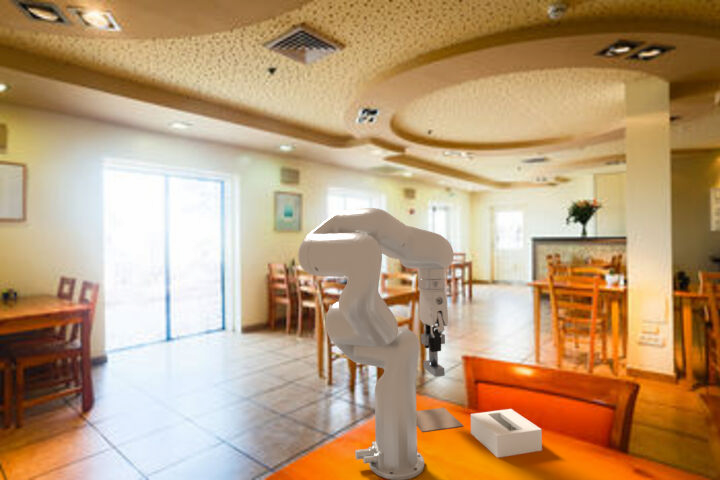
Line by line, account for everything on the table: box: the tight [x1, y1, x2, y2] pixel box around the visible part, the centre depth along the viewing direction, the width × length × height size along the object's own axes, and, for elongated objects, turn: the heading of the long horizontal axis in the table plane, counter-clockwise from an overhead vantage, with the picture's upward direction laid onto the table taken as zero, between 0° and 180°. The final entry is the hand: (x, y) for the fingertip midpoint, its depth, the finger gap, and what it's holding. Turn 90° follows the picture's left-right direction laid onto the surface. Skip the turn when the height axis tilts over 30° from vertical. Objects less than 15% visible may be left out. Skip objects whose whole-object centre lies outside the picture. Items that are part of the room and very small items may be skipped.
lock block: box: [470, 408, 543, 458], centre depth 98 cm, size 12×12×6 cm
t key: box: [420, 333, 446, 378], centre depth 111 cm, size 8×6×10 cm
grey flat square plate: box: [416, 407, 464, 433], centre depth 111 cm, size 12×12×1 cm
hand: (432, 348), depth 111 cm, fingers closed on t key, 3 cm apart
